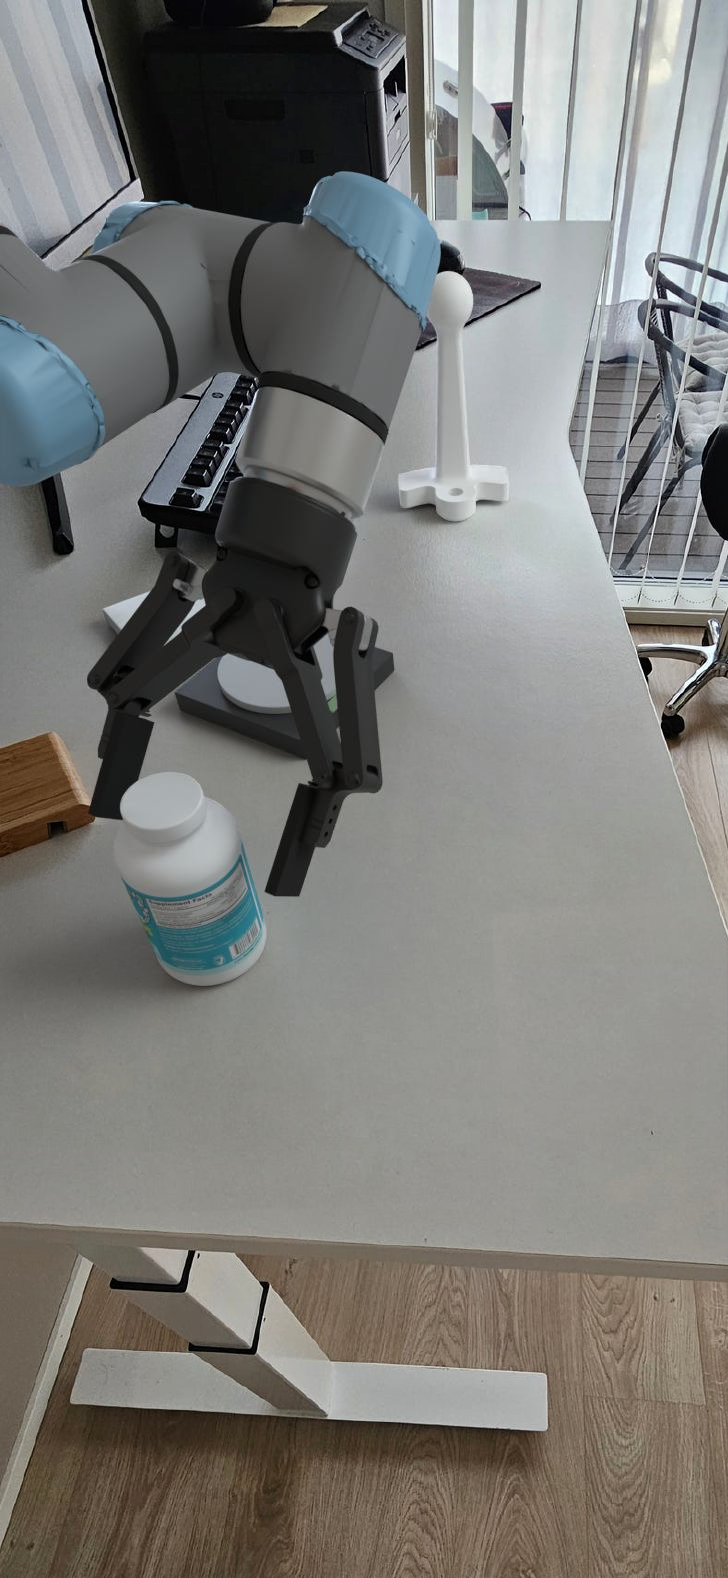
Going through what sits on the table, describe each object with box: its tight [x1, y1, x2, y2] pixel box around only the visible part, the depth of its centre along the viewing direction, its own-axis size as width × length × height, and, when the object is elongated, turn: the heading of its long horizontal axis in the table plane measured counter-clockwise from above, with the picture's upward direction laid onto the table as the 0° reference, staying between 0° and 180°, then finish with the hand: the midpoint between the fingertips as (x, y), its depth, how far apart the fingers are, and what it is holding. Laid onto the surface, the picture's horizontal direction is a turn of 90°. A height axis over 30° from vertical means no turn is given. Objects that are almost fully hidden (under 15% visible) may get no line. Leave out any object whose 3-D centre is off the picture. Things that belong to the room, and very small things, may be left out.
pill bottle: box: [112, 771, 268, 987], centre depth 61 cm, size 8×7×14 cm
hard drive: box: [101, 590, 205, 645], centre depth 89 cm, size 2×8×12 cm
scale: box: [174, 633, 395, 760], centre depth 82 cm, size 13×13×2 cm
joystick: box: [397, 270, 510, 522], centre depth 93 cm, size 11×8×20 cm
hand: (191, 855), depth 60 cm, fingers open, 13 cm apart
